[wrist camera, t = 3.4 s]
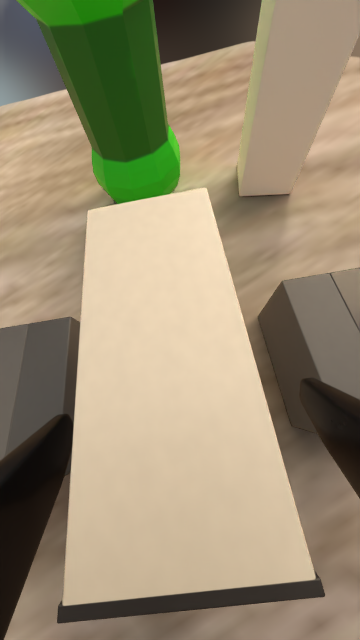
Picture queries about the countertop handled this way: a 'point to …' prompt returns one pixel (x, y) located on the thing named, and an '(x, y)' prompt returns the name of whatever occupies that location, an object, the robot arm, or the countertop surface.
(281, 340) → the grey books
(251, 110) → the milk
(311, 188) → the countertop surface
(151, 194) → the plastic bottle
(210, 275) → the cream rectangular block
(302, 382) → the robot arm
